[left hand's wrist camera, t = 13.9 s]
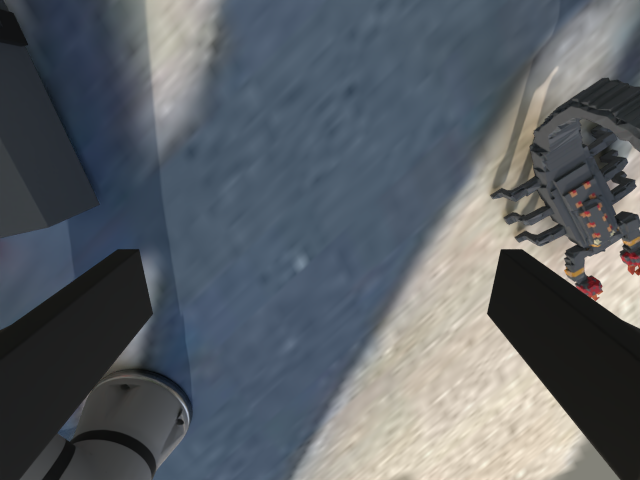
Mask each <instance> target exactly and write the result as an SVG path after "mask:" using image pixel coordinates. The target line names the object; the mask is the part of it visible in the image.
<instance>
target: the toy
mask: <svg viewBox="0 0 640 480" xmlns="http://www.w3.org/2000/svg"><path fill="white" fill-rule="evenodd" d="M581 119H587V120H590V121H593V122H594V123H597V124H599V125H598V126H597V127H595V128H594V129H592V130H591V132H592V134H593V135H592V136H594V137H595V138H597V140H595V141H594V142H593V143H592V144H590V145H589V146H586V145H584V144H582V136H581V133H580V131H581V128H580V126H581V124H580V122H579V120H581ZM608 129H610V130H611V131H612V132H607V131H608ZM533 134H534V136H535V137H534V140H533V141H534V143H533V144H532V145H530V151H531V156H532V159H533V163H534V164H533V169H534V173H535V177H533V178H532V179H530V180H529V181H527V182H526V183H524V184H522V185H520V186H519V187H517V188H515V189H513V190H505V189H503V188H501V189H499V190H498V191H496V192H495V193H493V194H492V195H490V196H491V197H492V199H496V198H501V197H505V198H507V199H509V200H512V201H515V202H516V201H518V200H519V199H521V198H522V197H524V196H525V195H526V196H528V195H530V194H531V193H533V192H534V191H536V190H537V191H538V193H539V195H540V197H541V199H542V200H543V201H544V203H545V206H544V207H541V208H539V209H537V210H535V211H534V212H532V213H530V214H528V215H526V216H525V215H522V216H521V215H519V214H518V213H514V212H512V213H510V214H509V215H507V216H505V217H504V220H505V221H506V223H507V224H509V225H510V224H512V223H514V222H517V221H518V222H522V223H523V224H526V225H533V224H535V223H537V222H538V221H540V220H542V219H544V218H545V217H547V216H551V218H552V220H553V221H555V222H557V223H559V224H558V225H556V226H555V227H553V228H551V229H548V230H546V231H544V232H542V233H540V234H538V235H535V234H531V233H529V232H527V231H524V232H523V233H521V234H519V235H518V236H516V237H515V239H516V240H517V241H518V242H522V241H524V240H529V241H531V242H532V243H534V244H536V245H538V246H543V245H545V244H547V243H549V242H551V241H553V240H555V239H557V238H559V237H561V236H563V235H566V236H568V238H569V239H570V240H571V241H572V242H574V243H576V244H577V245H575V246H573V247H572V248H570V249H568V250H566V253H565V255H566V256H567V257H566V258H564V260H565V262H566V264H565V266H566V269H565V270H564V271H565V273H566V275H567V276H568V278H570V279H571V280H573V281H574V282H575V281H576V282H577V283H575V285H576V287H577V289H579V290H580V291H582V292H583V293H584V294H586V295H588V296H589V297H590V298H591V297H592V298H593V299H594V300H595V301H596V300H597V299H598V298H600V297H598V298H597V295H596V294H598V295H599V294H600V293H602V292H603V291H602V289H601V288H602V285H601V283H600V281H599V280H597V279H596V278H594V277H593V276H589V277H588V276H587V275H586V274H585V272H584V262H585V260H584V258H585V257H587V256H592V255H594V254H597V253H599V252H601V251H605V249H606V248H607V247H609V246H610V245H612V244H613V243H615V242H616V241H618V240H619V239H621V238H622V241H623V243H624V245H623V246H622V247H623V249H624V250H622V251H620V253H621V254H620V256H621V259H622V261H623V262H624V263H626V264H627V265H628V271H629V272H630V273H631V274H632V275H633V274H634V272H635V273H636V274H637V275H638V276H639V275H640V231H639V227H640V219H639V216H638V215H637V214H633V213H630V212H624V211H622V212H620V213H619V214H617V215H616V213H615V211H614V208H613V206H612V205H613V204H615V203H616V202H618V201H619V200H621V199H622V198H623V197H625V196H626V195H627V194H629V193H630V192H631V191H633V190H634V189H635V188H636V187H637V186H636V185H635V180H633V179H629V178H626V176H627V175H626V174H625V172H623V171H621V170H623V169H624V167H625V166H626V165H627V163H628V161H627V159H626V158H623V157H617V155H618V151H616V150H611V151H609V152H608V153H606V154H605V155H603V156H601V157H600V160H601V162H605V163H609V164H608V165H606V166H605V167H603V168H602V169H601V170H599V168H598V165H597V163H596V161H595V159H594V158H593V156H594V155H596V154H597V153H599V152H600V151H602V150H603V149H605V148H606V147H608V146H609V145H610V144H612V143H613V142H615V141H616V140H617V138H616V136H617V137H618V138H619V139H620V140H625V141H629V142H630V143H631V144H632V145H633V147H634V148H635V149H637V150H638V151H639V152H640V87H633V86H630V85H629V84H627V83H623V82H621V81H619V80H612V81H610V80H609V78H602V79H601V80H599V81H598V82H596V83H595V84H593V85H592V86H590V87H589V88H587V89H586V90H583V91H582V92H580V93H579V94H577V95H576V96H574V97H573V98H571V99H570V100H568V101H567V102H565V103H564V104H562V105H561V106H559V107H558V108H557V109H556V110H555V111H553V113H551V114H550V116H548V118H546V119H545V122H544V123H543V124H542V125H541V126H540V127H539V128H537V129H536V130H534V133H533ZM609 180H612V181H613V182H614V183H617V184H620V185H618V186H617V187H615V188H614V189H613V190H611V191H610V189H609V187H608V185H607V183H606V182H607V181H609ZM615 215H616V216H615ZM637 265H638V267H639V269H637V270H636V271H635V267H636V266H637Z"/></svg>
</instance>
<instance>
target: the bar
mask: <svg viewBox="0 0 640 480" xmlns="http://www.w3.org/2000/svg"><path fill="white" fill-rule="evenodd" d="M0 9H2V10H5V11H8V9H7V7H6V5H5V3H4V1H3V0H0ZM98 205H100V204H99V202H98V200H97V198H96V195H95V193H94V191H93V189H92V187H91V185H90V183H89V181H88V179H87V176H86V174H85V172H84V170H83V168H82V166H81V164H80V162H79V159H78V157H77V155H76V153H75V151H74V149H73V147H72V145H71V143H70V140H69V138H68V136H67V134H66V132H65V130H64V128H63V126H62V123H61V121H60V119H59V117H58V115H57V113H56V111H55V109H54V107H53V104H52V102H51V100H50V98H49V96H48V94H47V92H46V90H45V87H44V85H43V83H42V81H41V79H40V77H39V75H38V73H37V70H36V68H35V66H34V64H33V62H32V60H31V58H30V56H29V54H28V51H27V49H26V47H25V46H22V47H21V46H16V45H11V44H6V43H1V42H0V238H3V237H7V236H12V235H16V234H21V233H25V232H30V231H34V230H39V229H44V228H48V227H51V226H53V225H55V224H57V223H60V222H62V221H64V220H66V219H69V218H71V217H73V216H75V215H78V214H80V213H82V212H84V211H87V210H89V209H91V208H93V207H96V206H98Z"/></svg>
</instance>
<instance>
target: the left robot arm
mask: <svg viewBox="0 0 640 480" xmlns="http://www.w3.org/2000/svg"><path fill="white" fill-rule="evenodd" d="M152 314H153V312H152V307H151V303H150V298H149V293H148V289H147V284H146V279H145V275H144V270H143V265H142V261H141V256H140V251H139V249H118V250H116V251H115V252H113V253H112V254H111V255H109V256H108V257H106V258H105V259H104V260H102V261H101V262H99V263H98V264H97V265H95V266H94V267H92V268H91V269H90V270H88V271H87V272H85V273H84V274H82V275H81V276H80V277H78V278H77V279H75V280H74V281H73V282H71V283H70V284H68V285H67V286H66V287H64V288H63V289H61V290H60V291H58V292H57V293H56V294H54V295H53V296H51V297H50V298H49V299H47V300H46V301H44V302H43V303H42V304H40V305H39V306H37V307H36V308H34V309H33V310H32V311H30V312H29V313H27V314H26V315H25V316H23V317H22V318H20V319H19V320H18V321H16V322H15V323H13V324H12V325H10V326H8V327H6V328H4V329H2V330H0V480H152V479H153V477H154V474H155V472H156V470H157V469H158V468H159V466H160V465H161V464H162V463H163V462H164V460H165V459H166V458H167V457H168V456H169V455H170V453H171V452H172V451H173V450H174V449H175V447H176V446H177V445H178V444H179V443H180V442H181V440H182V439H183V438H184V436H185V435H186V433H187V430H188V428H189V425H190V423H191V420H192V406H191V403H190V401H189V399H188V397H187V395H186V394H185V393H184V391H183V390H182V389H181V388H180V387H179V386H178V385H176V384H175V383H174V382H172V381H171V380H169V379H167V378H165V377H163V376H161V375H159V374H156V373H153V372H149V371H144V370H122V371H118V372H114V373H112V374H110V375H108V376H106V377H105V378H103V379H102V380H101V381H100V382H99V380H100V379H101V378H102V377H103V375H104V374H105V373H106V372H107V370H108V369H109V368H110V367H111V365H112V364H113V363H114V362H115V360H116V359H117V358H118V357H119V355H120V354H121V353H122V352H123V350H124V349H125V348H126V347H127V345H128V344H129V343H130V342H131V341H132V339H133V338H134V337H135V336H136V334H137V333H138V332H139V331H140V329H141V328H142V327H143V326H144V324H145V323H146V322H147V321H148V319H149V318H150V317H151V316H152ZM487 314H488V316H489V317H490V318H491V319H492V321H493V322H494V323H495V324H496V326H497V327H498V328H499V329H500V331H501V332H502V333H503V334H504V336H505V337H506V338H507V339H508V341H509V342H510V343H511V344H512V345H513V347H514V348H515V349H516V350H517V352H518V353H519V354H520V355H521V357H522V358H523V359H524V360H525V362H526V363H527V364H528V365H529V367H530V368H531V369H532V370H533V372H534V373H535V374H536V375H537V377H538V378H539V379H540V380H541V382H542V383H543V384H544V385H545V387H546V388H547V389H548V390H549V392H550V393H551V394H552V395H553V396H554V398H555V399H556V400H557V401H558V403H559V404H560V405H561V406H562V408H563V409H564V410H565V411H566V413H567V414H568V415H569V416H570V418H571V419H572V420H573V421H574V423H575V424H576V425H577V426H578V428H579V429H580V430H581V431H582V433H583V434H584V435H585V436H586V438H587V439H588V440H589V441H590V442H591V444H592V445H593V446H594V447H595V449H596V450H597V451H598V452H599V454H600V455H601V456H602V457H603V459H604V460H605V461H606V462H607V464H608V465H609V466H610V467H611V469H612V470H613V471H614V472H615V474H616V475H617V476H618V477H619V479H620V480H640V329H639V328H637V327H635V326H633V325H631V324H629V323H627V322H625V321H623V320H621V319H620V318H618V317H617V316H615V315H614V314H613V313H611V312H610V311H608V310H607V309H606V308H604V307H603V306H601V305H600V304H598V303H597V302H596V301H594V300H593V299H591V298H590V297H589V296H587V295H586V294H584V293H583V292H582V291H580V290H579V289H577V288H576V287H574V286H573V285H572V284H570V283H569V282H567V281H566V280H565V279H563V278H562V277H560V276H559V275H558V274H556V273H555V272H553V271H552V270H550V269H549V268H548V267H546V266H545V265H543V264H542V263H541V262H539V261H538V260H536V259H535V258H534V257H532V256H531V255H529V254H528V253H527V252H525V251H524V250H522V249H501V251H500V256H499V261H498V265H497V270H496V275H495V279H494V284H493V289H492V293H491V298H490V303H489V307H488V312H487ZM98 382H99V383H98ZM97 383H98V384H97ZM96 384H97V385H96ZM95 385H96V387H95ZM94 387H95V388H94ZM93 388H94V389H93ZM92 389H93V390H92ZM91 390H92V392H91ZM90 392H91V393H90ZM89 393H90V394H89ZM88 394H89V396H88V398H87V401H86V403H85V406H84V409H83V412H82V414H81V417H80V420H79V423H78V426H77V429H76V431H75V434H74V437H73V439H72V440H71V441H70V442H69V441H67V440H66V439H65V438H63V437H62V436H60V435H59V434H57V433H58V431H59V430H60V429H61V428H62V426H63V425H64V424H65V423H66V421H67V420H68V419H69V418H70V416H71V415H72V414H73V413H74V411H75V410H76V409H77V408H78V406H79V405H80V404H81V403H82V401H83V400H84V399H85V398H86V396H87V395H88Z"/></svg>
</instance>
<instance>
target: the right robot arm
mask: <svg viewBox="0 0 640 480" xmlns="http://www.w3.org/2000/svg"><path fill="white" fill-rule="evenodd" d="M0 42H1V43H6V44H11V45H16V46H21V47H22V46H26V45H28V43H27V41H26V39H25V37H24V35H23V33H22V30H21V28H20V26H19V24H18V22H17V20H16V18H15V16H14V13H12V12H9V11H5V10H2V9H0Z"/></svg>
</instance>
